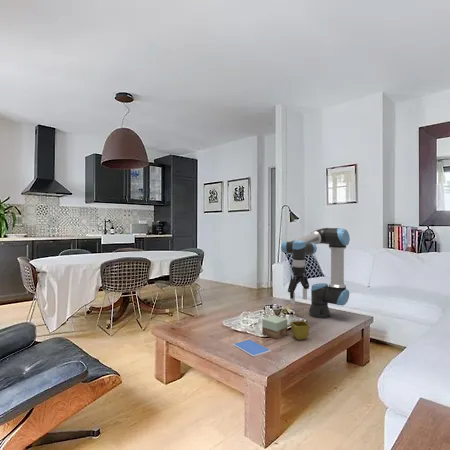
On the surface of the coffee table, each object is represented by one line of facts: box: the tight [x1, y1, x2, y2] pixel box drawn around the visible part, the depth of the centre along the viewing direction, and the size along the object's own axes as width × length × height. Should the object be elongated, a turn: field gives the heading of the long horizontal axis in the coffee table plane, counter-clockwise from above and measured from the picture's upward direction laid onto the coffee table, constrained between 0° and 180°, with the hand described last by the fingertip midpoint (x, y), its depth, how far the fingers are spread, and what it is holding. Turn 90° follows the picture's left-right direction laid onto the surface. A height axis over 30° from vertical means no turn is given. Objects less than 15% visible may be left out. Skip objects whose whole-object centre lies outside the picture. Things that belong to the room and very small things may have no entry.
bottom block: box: [261, 326, 288, 340], centre depth 203 cm, size 11×11×5 cm
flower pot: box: [290, 320, 310, 341], centre depth 196 cm, size 9×9×9 cm
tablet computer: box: [233, 339, 271, 358], centre depth 182 cm, size 19×13×1 cm, turn 33°
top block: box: [261, 314, 288, 331], centre depth 202 cm, size 11×11×5 cm
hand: (298, 301), depth 195 cm, fingers open, 13 cm apart
